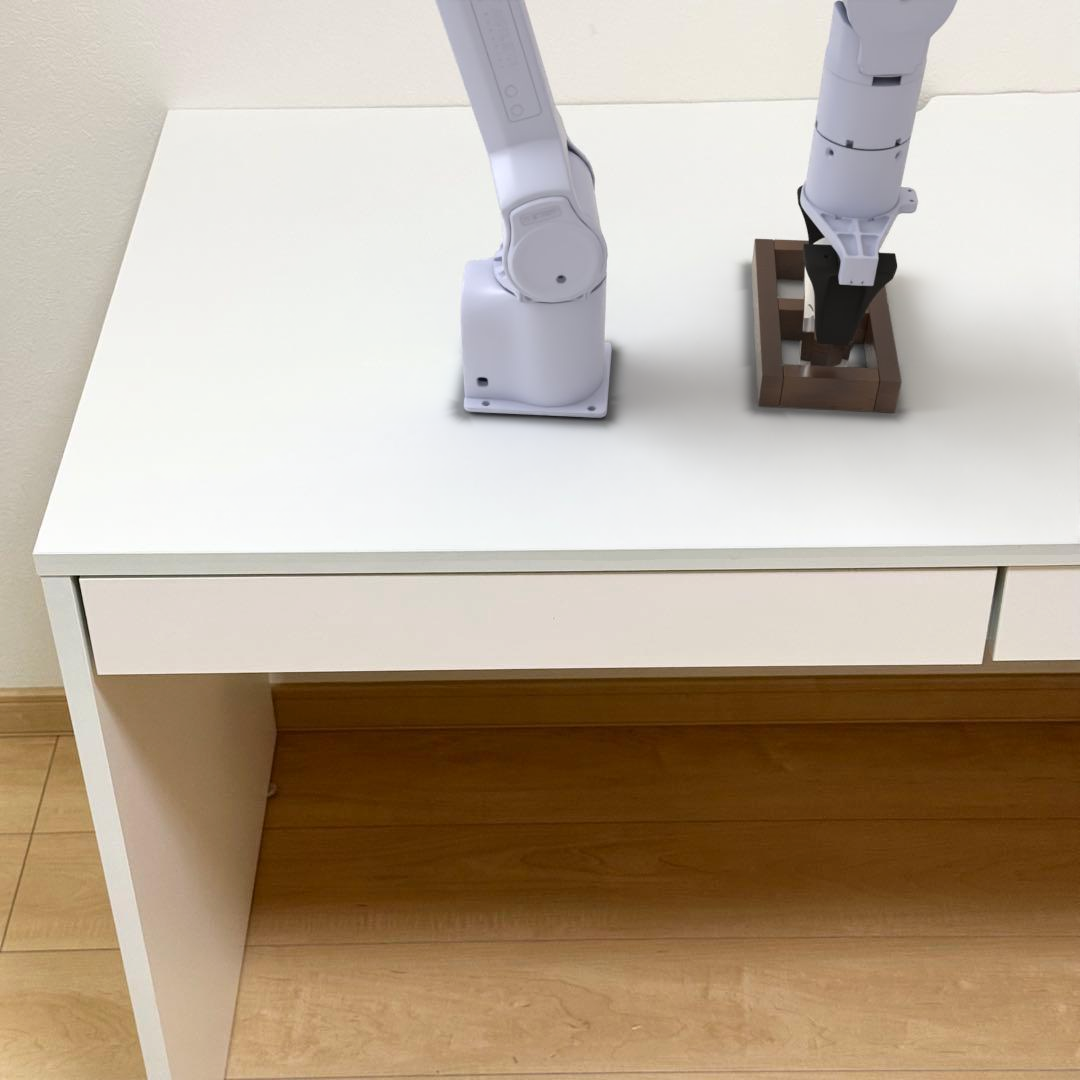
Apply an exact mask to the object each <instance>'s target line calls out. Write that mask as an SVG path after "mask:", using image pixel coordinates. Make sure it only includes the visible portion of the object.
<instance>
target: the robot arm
mask: <svg viewBox="0 0 1080 1080" xmlns="http://www.w3.org/2000/svg"><path fill="white" fill-rule="evenodd" d="M434 1H435V5H436V7H437V11H438V13H439V15H440V19H441V22H442V25H443V28H444V30H445V34H446V37H447V40H448V42H449V46H450V48H451V52H452V54H453V57H454V60H455V63H456V66H457V69H458V71H459V74H460V77H461V81H462V84H463V86H464V89H465V93H466V95H467V98H468V101H469V103H470V107H471V110H472V112H473V115H474V118H475V121H476V124H477V127H478V130H479V134H480V136H481V139H482V142H483V144H484V145H483V146H484V148H485V150H486V153H487V157H488V162H489V165H490V171H491V176H492V180H493V185H494V189H495V196H496V199H497V203H498V208H499V212H500V223H501V235H502V236H501V237H502V240H501V242H500V244H499V248H498V249H497V250H496V251H495V253H494V255H493V256H491V257H486V258H481V259H471V260H467V261H466V263H465V265H464V269H463V274H462V281H461V292H460V293H461V294H460V338H461V359H462V371H463V373H462V374H463V388H464V398H463V409H464V410H465V411H466V412H469V413H486V414H487V413H488V414H490V413H491V414H511V415H514V414H515V415H529V416H532V415H533V416H552V417H553V416H554V417H555V416H556V417H575V418H576V417H577V418H596V419H597V418H598V419H599V418H604V417H606V416H607V413H608V401H609V389H610V377H611V376H610V374H611V361H612V348H613V346H612V343H610V342H609V341H605V337H606V311H607V310H606V309H607V307H606V306H607V280H608V279H607V278H608V277H607V275H608V274H607V273H608V271H607V270H608V257H609V255H608V254H609V253H608V245H607V242H606V238H605V236H604V233H603V231H602V227H601V221H600V216H599V210H598V204H597V197H596V190H595V189H596V186H595V185H596V184H595V183H596V178H595V172H594V169H593V166H592V164H591V162H590V160H589V159H588V158H587V156H586V155H585V154H584V153H583V152H582V151H581V150H580V148H578V147H577V146H576V145H575V144H574V143H573V141H572V140H571V138H570V137H569V135H568V133H567V130H566V128H565V123H564V121H563V118H562V115H561V113H560V112H559V110H558V108H557V105H556V102H555V99H554V96H553V93H552V89H551V85H550V81H549V79H548V75H547V73H546V69H545V65H544V62H543V61H544V60H543V58H542V55H541V52H540V48H539V44H538V41H537V38H536V35H535V32H534V31H535V30H534V28H533V25H532V20H531V17H530V15H529V11H528V7H527V4H526V1H525V0H434ZM957 3H958V0H836V1H835V2H834V3H833V9H832V14H831V15H832V16H831V23H830V29H829V36H828V42H827V45H826V47H825V53H824V58H823V60H824V61H823V65H822V73H821V78H820V79H821V80H820V86H819V92H818V99H817V106H816V114H815V119H814V125H813V131H812V132H813V133H812V139H811V144H810V145H811V146H810V152H809V159H808V166H807V173H806V178H805V181H804V182H803V184H802V185H800V186H799V187H798V188H797V189H796V195H797V204H798V207H799V210H800V211H801V214H802V217H803V219H804V223H805V228H806V231H807V232H806V233H807V238H808V240H807V241H809V244H804V245H803V256H804V265H805V268H806V271H807V274H808V276H809V279H810V281H811V283H812V286H813V290H814V306H815V331H816V339H817V343H819V344H831V345H848V344H849V343H850V341H851V340H852V338H853V336H854V334H855V332H856V330H857V328H858V326H859V324H860V322H861V320H862V318H863V316H864V314H865V312H866V310H867V308H868V306H869V305H870V303H871V301H872V300H873V299H874V297H875V296H876V295H877V293H878V292H879V291H880V290H881V289H882V288H883V287H884V286H885V287H886V285H888V283H890V282H891V281H893V279H894V277H895V275H896V272H897V269H898V261H897V256H896V253H895V252H880V251H881V248H882V246H883V244H884V242H885V241H886V238H887V236H888V234H889V232H890V231H891V228H892V227H893V225H894V223H895V222H896V218H898V216H899V215H901V214H913V213H916V211H917V209H918V208H917V207H918V203H919V200H918V195H917V191H916V189H914V188H913V187H908V186H906V187H905V186H902V184H903V179H904V174H905V169H906V164H907V159H908V154H909V149H910V145H911V144H910V143H911V139H912V134H913V131H914V125H915V121H916V115H917V110H918V107H919V101H920V95H921V91H922V86H923V81H924V76H925V71H926V66H927V61H928V51H929V46H930V42H931V38H932V37H933V36H934V34H936V33H937V32H938V31H939V30H940V29H941V28H942V27H943V26H944V24H945V23H946V22H947V21H948V19H949V18H950V17H951V15H952V13H953V11H954V9H955V7H956V5H957ZM822 238H826V239H827V240H828V242H829V243H830V244H831V245H822V244H814V243H815V242H817V241H818V240H820V239H822ZM878 252H879V253H878Z"/></svg>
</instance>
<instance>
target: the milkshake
mask: <svg viewBox="0 0 1080 1080" xmlns="http://www.w3.org/2000/svg"><path fill="white" fill-rule="evenodd" d="M814 244H822V245H831V244H830V243H829V242H828V240H827V239H826V238H822V239H820V240H818V241H817V242H815V243H814ZM802 287H803V290H802V291H803V295H802V296H803V298H802V299H803V311H802V325H801V338H800V341H799V352H798V353H799V365H811V366H834V367H848V363H849V358H850V356H851V353H852V349H853V345H854V343H853V342H854V339H855V335H856V332H857V330H856V332H855V334H854V336H853V338H852V340H851V341H850V343H849V344H848V345H831V344H819V343H817V339H816V331H815V306H814V290H813V286H812V283H811V281H810V279H809V276H808V274H807V271H806V268H805V265H804V280H803V286H802Z"/></svg>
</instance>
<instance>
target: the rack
mask: <svg viewBox="0 0 1080 1080" xmlns="http://www.w3.org/2000/svg"><path fill="white" fill-rule="evenodd" d="M753 241H754V242H753V250H752V260H751V267H750V269H751V288H752V289H751V291H752V309H753V312H752V313H753V328H754V329H753V330H754V351H755V370H756V390H757V406H758V407H765V408H787V409H790V408H791V409H807V410H810V409H811V410H831V411H832V410H833V411H852V412H853V411H854V412H874V413H891V414H892V413H896V410H897V404H898V400H899V396H900V391H901V387H902V382H903V381H902V376H901V371H900V370H901V369H900V364H899V358H898V353H897V352H898V351H897V346H896V340H895V336H894V329H893V323H892V317H891V311H890V306H889V300H888V293H887V289H886V285H885V286H884V287H883V288H882V289H881V290H880V291H879V292H878V293H877V295H876V296H875V297H874V299H873V300H872V301H871V303H870V305H869V306H868V308H867V310H866V312H865V314H864V316H863V318H862V320H861V322H860V324H859V326H858V328H857V332H856V335H855V339H854V342H853V344H863V347H864V353H865V361H866V367H855V366H846V367H834V366H811V365H801V364H785V363H783V350H782V349H783V348H782V341H798V342H800V338H801V325H802V311H803V298H788V297H787V298H785V297H779V293H778V282H777V280H789V281H791V280H792V281H804V256H803V245H804V244H809V240H806V239H805V240H803V239H801V240H800V239H777V238H775V239H773V238H754V240H753ZM878 253H880V251H879V252H878Z"/></svg>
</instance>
